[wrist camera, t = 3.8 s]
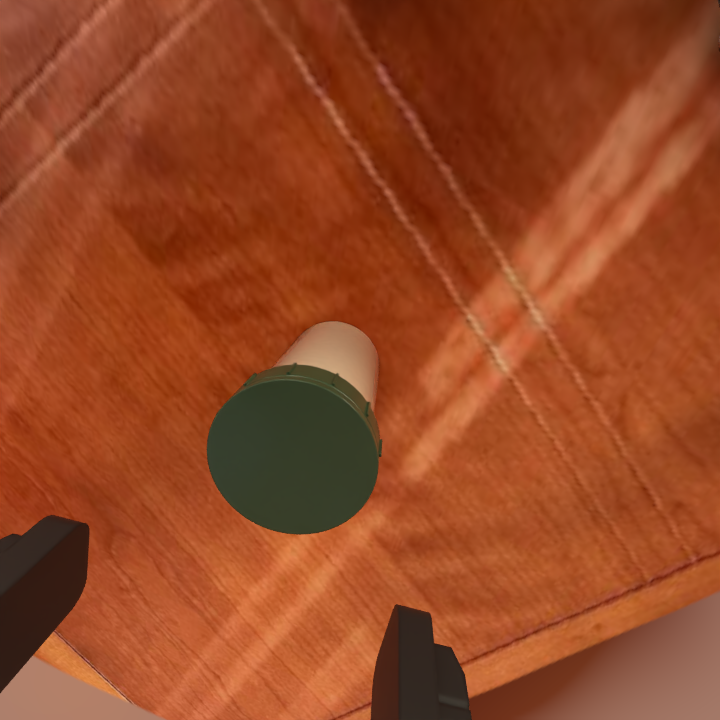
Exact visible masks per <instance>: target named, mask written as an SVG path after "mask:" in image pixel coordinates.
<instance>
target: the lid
mask: <svg viewBox="0 0 720 720" xmlns="http://www.w3.org/2000/svg"><path fill="white" fill-rule="evenodd" d="M381 453H382V439H380V434H379V428H378V424H377V420H376V418H375V415H374V412H373V411H372V409H371V403H370V401H369V402H367V401H366V399H365V398H364V397H363V395H362V394H361V393H360V392H359V391H358V390H357V389H356V388H355V387H354V386H353V385H351V384H350V383H349V382H348V381H346V380H345V379H343V378H342V377H340V376H339V373H336V374H334V373H332V372H330V371H328V370H325V369H322V368H319V367H314V366H309V365H298V364H297V362H294V363H293V364H292V365H283V366H278V367H273V368H271V369H268V370H265V371H263V372H261V373H259V374H256V373H254V374H253V375H252V376H251V377H250V378H249V379H248V380H247V381H246V382H245V383H244V384H243V386H242V387H241V388H240V389H239V390H238V391H237V392H236V393H235V394H234V395H233V396H232V397H231V398H230V399H229V400H228V401H227V402H226V403H225V404H224V405H223V406H222V408H221V409H220V410H219V411H218V412H217V414H216V417H215V418H214V420H213V423H212V425H211V428H210V431H209V435H208V440H207V459H208V465H209V469H210V472H211V475H212V478H213V480H214V482H215V484H216V486H217V488H218V490H219V491H220V493H221V494H222V496H223V497H224V498H225V499H226V501H227V502H228V503H229V504H230V505H231V506H232V507H233V508H234V509H235V510H236V511H237V512H239V513H240V514H241V515H243V516H244V517H245V518H247V519H248V520H250V521H252V522H254V523H255V524H258V525H260V526H262V527H264V528H267V529H270V530H273V531H277V532H282V533H287V534H312V533H319V532H323V531H326V530H329V529H332V528H334V527H337V526H339V525H341V524H342V523H344V522H346V521H347V520H349V519H350V518H351V517H353V516H354V515H355V514H356V513H357V512H358V511H359V510H360V509H361V508H362V507H363V506H364V504H365V503H366V502H367V500H368V499H369V497H370V495H371V493H372V491H373V489H374V486H375V483H376V479H377V474H378V464H379V457H381Z"/></svg>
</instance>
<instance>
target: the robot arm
mask: <svg viewBox="0 0 720 720" xmlns="http://www.w3.org/2000/svg"><path fill="white" fill-rule="evenodd" d="M88 548H89V526H88V525H87V524H86V523H82V522H78V521H74V520H70V519H66V518H62V517H59V516H55V515H49V516H47V517H45V518H43V519H42V520H41V521H39V522H38V523H37V524H36V525H34V526H33V527H32V528H31V529H30V530H28V531H27V532H26V533H25V534H23V535H22V536H20V535H16V534H11V535H9V536H7V537H4V538H2V539H0V693H1V692H2V690H3V689H4V688H5V687H6V686H7V685H8V684H9V682H10V681H11V680H12V679H13V678H14V677H15V675H16V674H17V673H18V672H19V671H20V669H21V668H22V667H23V666H24V665H25V664H26V663H27V661H28V660H29V659H30V658H31V657H32V656H33V654H34V653H35V652H36V651H37V650H38V649H39V647H40V646H41V645H42V644H43V643H44V642H45V640H46V639H47V638H48V637H49V636H50V635H51V633H52V632H53V631H54V630H55V629H56V628H57V626H58V625H59V624H60V623H61V622H62V621H63V619H64V618H65V617H66V616H67V615H68V614H69V612H70V611H71V610H72V609H73V607H74V606H75V604H76V603H77V601H78V600H79V598H80V596H81V594H82V592H83V589H84V587H85V584H86V579H87V566H88ZM371 720H472V719H471V712H470V710H469V699H468V692H467V686H466V679H465V674H464V672H463V670H462V668H461V666H460V664H459V662H458V660H457V658H456V656H455V654H454V652H453V650H452V648H451V647H447V646H443V645H439V644H435V643H434V639H433V628H432V618H431V615H430V613H429V612H425V611H421V610H417V609H413V608H409V607H405V606H401V605H397V604H396V605H395V606H394V609H393V611H392V614H391V617H390V620H389V623H388V626H387V629H386V632H385V635H384V638H383V641H382V644H381V647H380V650H379V654H378V657H377V661H376V666H375V672H374V678H373V688H372V705H371Z"/></svg>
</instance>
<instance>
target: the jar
mask: <svg viewBox="0 0 720 720" xmlns="http://www.w3.org/2000/svg"><path fill="white" fill-rule="evenodd" d="M294 362H297V364H298V365H309V366H314V367H319V368H322V369H325V370H328V371H330V372H332V373H334V374H336V373H339V376H340V377H342V378H343V379H345V380H346V381H348V382H349V383H350V384H351V385H353V386H354V387H355V388H356V389H357V390H358V391H359V392H360V393H361V394H362V395H363V397H364V398H365V399H366V401H367V402H369V401H370V403H371V409H372V411H373V412H374V410H375V402H376V393H377V385H378V377H379V358H378V354H377V351H376V348H375V347H374V345H373V343H372V342H371V340H370V339H369V338H368V337H367V336H366V335H365V334H364V333H363V332H362V331H361V330H359V329H358V328H356V327H354V326H352V325H350V324H346V323H343V322H334V321H331V322H323V323H319V324H316V325H314V326H312V327H310V328H309V329H307V330H306V331H305V332H303V333H302V334H301V335H300V336H299V338H298V339H297V340H296V341H295V342H294V343H293V344H292V345H291V347H290V348H289V349H288V350H287V351H286V352H285V353H284V354H283V355H282V357H281V358H280V359H279V360H278V361H277V362H276V363H275V364H274V366H273V367H278V366H283V365H292V364H293V363H294ZM273 367H272V368H273Z"/></svg>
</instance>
